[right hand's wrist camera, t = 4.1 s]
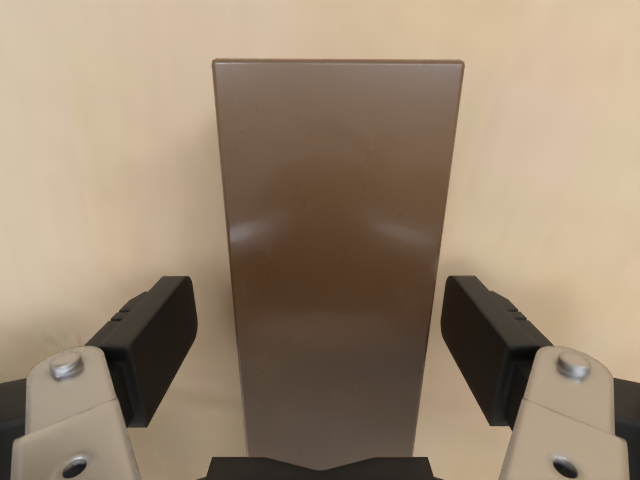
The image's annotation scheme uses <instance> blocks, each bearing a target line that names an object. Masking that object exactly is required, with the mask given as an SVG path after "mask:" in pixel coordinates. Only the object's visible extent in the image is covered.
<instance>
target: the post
mask: <svg viewBox="0 0 640 480" xmlns="http://www.w3.org/2000/svg"><path fill="white" fill-rule="evenodd" d="M464 67H465V65H464V61H462V60H409V59H222V58H216V59H214V60H213V61H212V74H213V85H214V96H215V107H216V119H217V130H218V141H219V152H220V163H221V174H222V185H223V196H224V207H225V218H226V230H227V241H228V252H229V263H230V274H231V285H232V296H233V307H234V318H235V329H236V341H237V352H238V363H239V374H240V385H241V396H242V407H243V418H244V429H245V441H246V452H247V457H267V458H271V459H274V460H278V461H282V462H286V463H290V464H294V465H298V466H302V467H306V468H309V469H313V470H327V469H331V468H334V467H338V466H342V465H346V464H350V463H354V462H358V461H362V460H366V459H369V458H373V457H412V456H413V449H414V441H415V434H416V426H417V419H418V412H419V404H420V397H421V389H422V382H423V374H424V367H425V359H426V352H427V344H428V337H429V329H430V322H431V314H432V307H433V299H434V292H435V284H436V277H437V269H438V262H439V254H440V247H441V239H442V232H443V224H444V217H445V209H446V202H447V195H448V187H449V180H450V172H451V165H452V157H453V150H454V142H455V135H456V127H457V120H458V112H459V105H460V97H461V90H462V82H463V75H464Z"/></svg>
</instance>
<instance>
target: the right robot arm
mask: <svg viewBox="0 0 640 480" xmlns="http://www.w3.org/2000/svg"><path fill="white" fill-rule="evenodd" d="M197 325H198V322H197V314H196V306H195V299H194V292H193V285H192V281H191V279H190V277H189V276H163V277H162V278H161V279H160V280H159V281H158V282H157V283H156V284H155V285H154V286H153V287H152V288H151V289H150V290H149V292H144V293H142V294H140V295H138V296H136V297H135V298H133V299H131V300H129V301H128V302H127V303H126V304H125V305H124V306H123V307H122V308H121V309H120V310H119V313H116V314H115V315H114V316H113V317H112V318H111V321H108V322H107V323H106V324H105V325H104V326H103V327H102V328H101V329H100V330H99V331H98V332H97V333H96V334H95V335H94V336H93V337H92V338H91V339H90V340H89V341H88V342H87V343H86V344H85V345H84V346H80V347H74V348H70V349H66V350H63V351H60V352H58V353H55V354H53V355H51V356H49V357H47V358H46V359H44V360H42V361H41V362H40V363H38V364H37V365H36V366H35V367H34V368H33V369H32V370H31V371H30V372H29V374H28V376H27V378H25V379H21V380H16V381H11V382H6V383H1V384H0V480H141V477H140V473H139V470H138V466H137V463H136V459H135V456H134V453H133V449H132V446H131V442H130V439H129V435H128V432H127V428H128V427H147V426H148V425H149V423H150V421H151V419H152V417H153V415H154V414H155V412H156V410H157V408H158V406H159V404H160V403H161V401H162V399H163V397H164V395H165V393H166V392H167V390H168V388H169V386H170V384H171V382H172V381H173V379H174V377H175V375H176V373H177V371H178V370H179V368H180V366H181V364H182V362H183V360H184V359H185V357H186V355H187V353H188V351H189V349H190V348H191V346H192V344H193V342H194V340H195V338H196V334H197ZM441 332H442V336H443V339H444V341H445V343H446V345H447V347H448V349H449V350H450V352H451V354H452V356H453V358H454V360H455V362H456V363H457V365H458V367H459V369H460V371H461V373H462V375H463V376H464V378H465V380H466V382H467V384H468V386H469V388H470V389H471V391H472V393H473V395H474V397H475V399H476V401H477V402H478V404H479V406H480V408H481V410H482V412H483V414H484V415H485V417H486V419H487V421H488V423H489V425H490V426H510V428H511V430H512V431H513V432H512V435H511V439H510V442H509V446H508V449H507V453H506V456H505V459H504V463H503V466H502V470H501V473H500V477H499V480H640V383H637V382H632V381H627V380H622V379H617V378H613V376H612V374H611V372H610V371H609V370H608V369H607V368H606V367H605V366H604V365H603V364H602V363H600V362H599V361H598V360H596V359H594V358H593V357H591V356H589V355H587V354H585V353H582V352H580V351H577V350H574V349H570V348H566V347H560V346H554V345H553V344H552V343H551V342H550V341H549V340H548V339H547V338H546V337H545V336H544V335H543V334H542V333H541V332H540V331H539V330H538V329H537V328H536V327H535V326H534V325H533V324H532V323H531V322H530V321H529V320H527V319H526V317H525V316H524V315H523V314H522V313H521V312H518V309H517V308H516V307H515V306H514V305H513V304H512V303H511V302H510V301H509V300H508V299H506V298H504V297H502V296H501V295H499V294H497V293H495V292H493V291H489V290H488V289H487V288H486V287H485V286H484V285H483V284H482V283H481V282H480V281H479V280H478V278H477V277H475V276H449V277H448V278H447V280H446V285H445V292H444V299H443V307H442V314H441ZM197 480H443V479H440V478H436V477H434V476H433V473H432V470H431V467H430V463H429V460H428V457H373V458H369V459H366V460H362V461H358V462H354V463H350V464H346V465H342V466H338V467H334V468H331V469H327V470H313V469H309V468H306V467H302V466H298V465H294V464H290V463H286V462H282V461H278V460H274V459H271V458H267V457H212V460H211V463H210V467H209V470H208V473H207V476H206V477H204V478H200V479H197Z"/></svg>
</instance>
